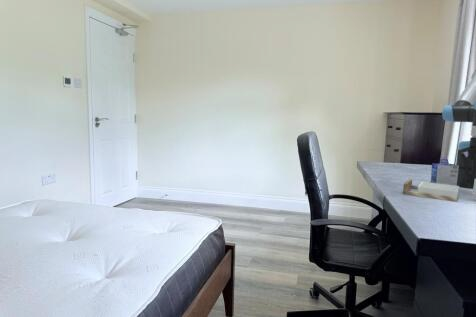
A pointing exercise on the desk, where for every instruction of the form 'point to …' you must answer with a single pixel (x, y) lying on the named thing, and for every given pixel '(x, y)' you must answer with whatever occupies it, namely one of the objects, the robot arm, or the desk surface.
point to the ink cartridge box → (444, 173)
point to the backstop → (409, 186)
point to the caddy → (438, 189)
